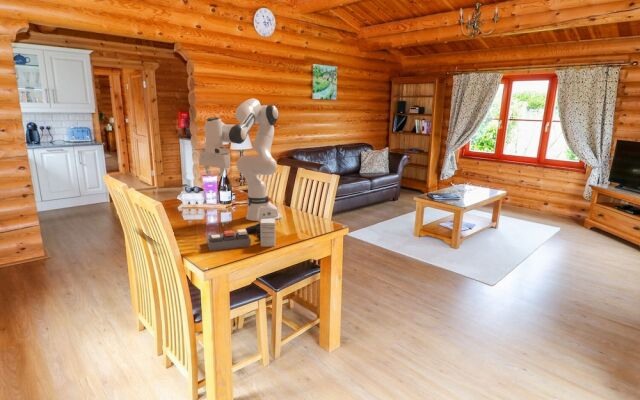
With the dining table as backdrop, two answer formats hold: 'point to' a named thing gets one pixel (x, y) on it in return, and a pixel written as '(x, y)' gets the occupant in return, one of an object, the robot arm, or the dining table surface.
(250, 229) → the gaming controller
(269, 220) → the supplement box
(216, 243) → the button box
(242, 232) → the button
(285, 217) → the dining table surface
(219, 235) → the button
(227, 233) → the red button
